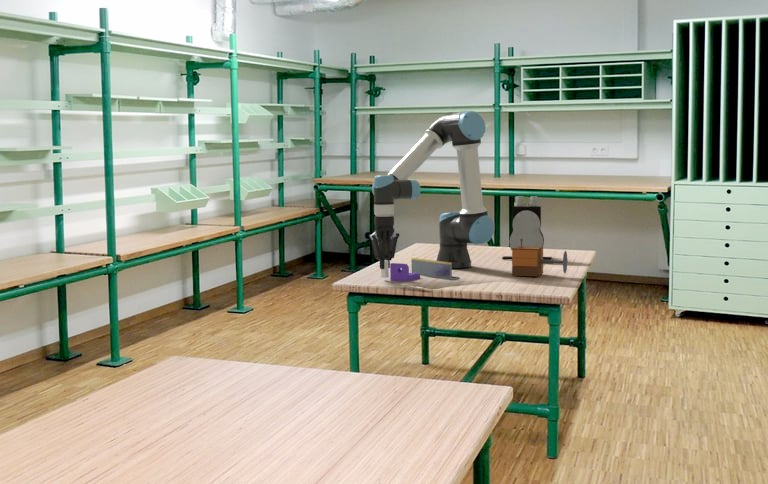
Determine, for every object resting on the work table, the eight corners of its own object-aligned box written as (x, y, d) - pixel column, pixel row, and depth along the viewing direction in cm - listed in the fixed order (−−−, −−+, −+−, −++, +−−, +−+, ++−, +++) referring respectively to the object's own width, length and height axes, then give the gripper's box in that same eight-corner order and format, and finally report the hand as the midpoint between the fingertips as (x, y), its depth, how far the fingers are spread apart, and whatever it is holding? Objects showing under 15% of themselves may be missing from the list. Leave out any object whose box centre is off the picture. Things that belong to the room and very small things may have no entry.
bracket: (406, 282, 325) (406, 264, 325) (390, 281, 328) (390, 263, 328) (419, 278, 336) (419, 261, 335) (404, 278, 339) (404, 260, 338)
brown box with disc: (562, 277, 334) (562, 240, 333) (512, 275, 342) (512, 239, 340) (567, 274, 344) (568, 238, 342) (518, 272, 351) (518, 237, 350)
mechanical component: (552, 259, 399) (553, 195, 396) (550, 264, 378) (551, 196, 376) (505, 259, 404) (505, 195, 401) (501, 264, 383) (501, 196, 381)
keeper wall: (421, 273, 350) (421, 257, 350) (459, 278, 331) (459, 261, 330) (411, 274, 348) (411, 258, 347) (449, 279, 328) (449, 262, 328)
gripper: (392, 214, 334) (392, 275, 336) (364, 216, 326) (365, 277, 328) (403, 215, 327) (404, 276, 329) (375, 216, 320) (376, 279, 322)
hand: (384, 277), depth 329 cm, fingers closed
